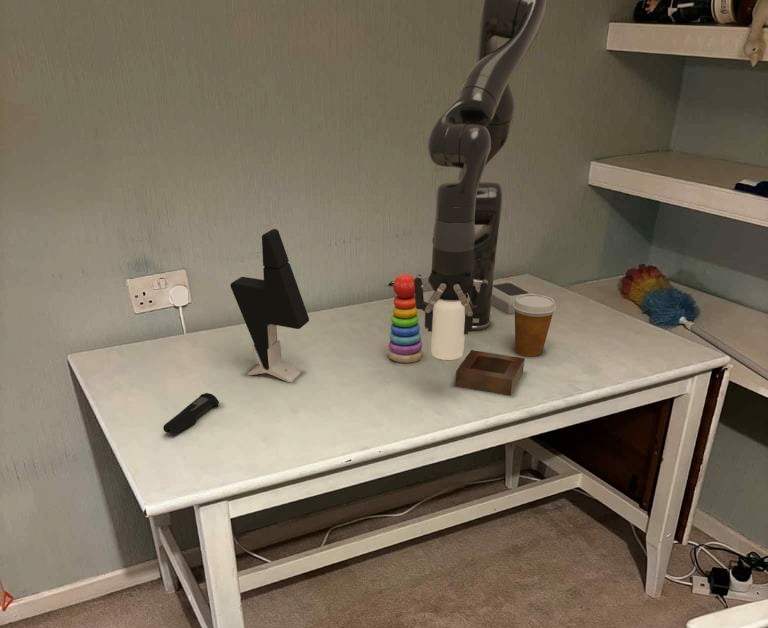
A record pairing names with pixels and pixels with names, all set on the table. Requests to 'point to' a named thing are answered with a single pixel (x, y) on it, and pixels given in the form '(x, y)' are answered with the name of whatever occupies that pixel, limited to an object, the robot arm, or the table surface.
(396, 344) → the stacking toy
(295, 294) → the award
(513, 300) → the keypad
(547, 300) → the disposable coffee cup
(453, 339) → the can
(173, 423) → the electric trimmer
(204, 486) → the table surface
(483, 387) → the can stand
